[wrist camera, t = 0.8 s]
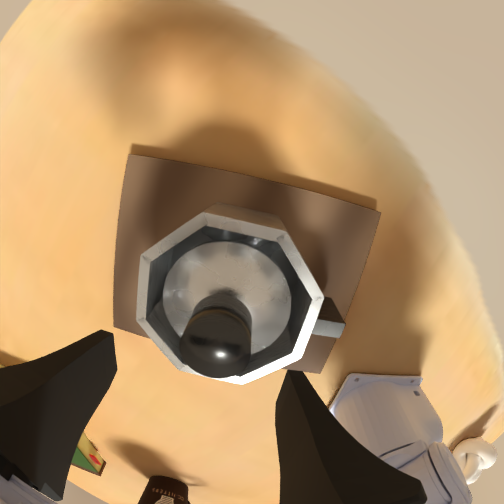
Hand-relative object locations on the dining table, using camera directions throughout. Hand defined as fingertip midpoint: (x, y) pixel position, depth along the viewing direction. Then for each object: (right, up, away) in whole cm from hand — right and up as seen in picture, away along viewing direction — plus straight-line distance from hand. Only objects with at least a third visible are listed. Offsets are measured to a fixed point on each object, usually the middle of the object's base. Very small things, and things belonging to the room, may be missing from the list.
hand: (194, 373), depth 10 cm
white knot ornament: (+43, -33, +19) cm, 58 cm away
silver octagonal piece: (+2, +3, +9) cm, 10 cm away
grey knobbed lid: (+1, +2, +6) cm, 6 cm away
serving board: (+1, +3, +10) cm, 10 cm away
